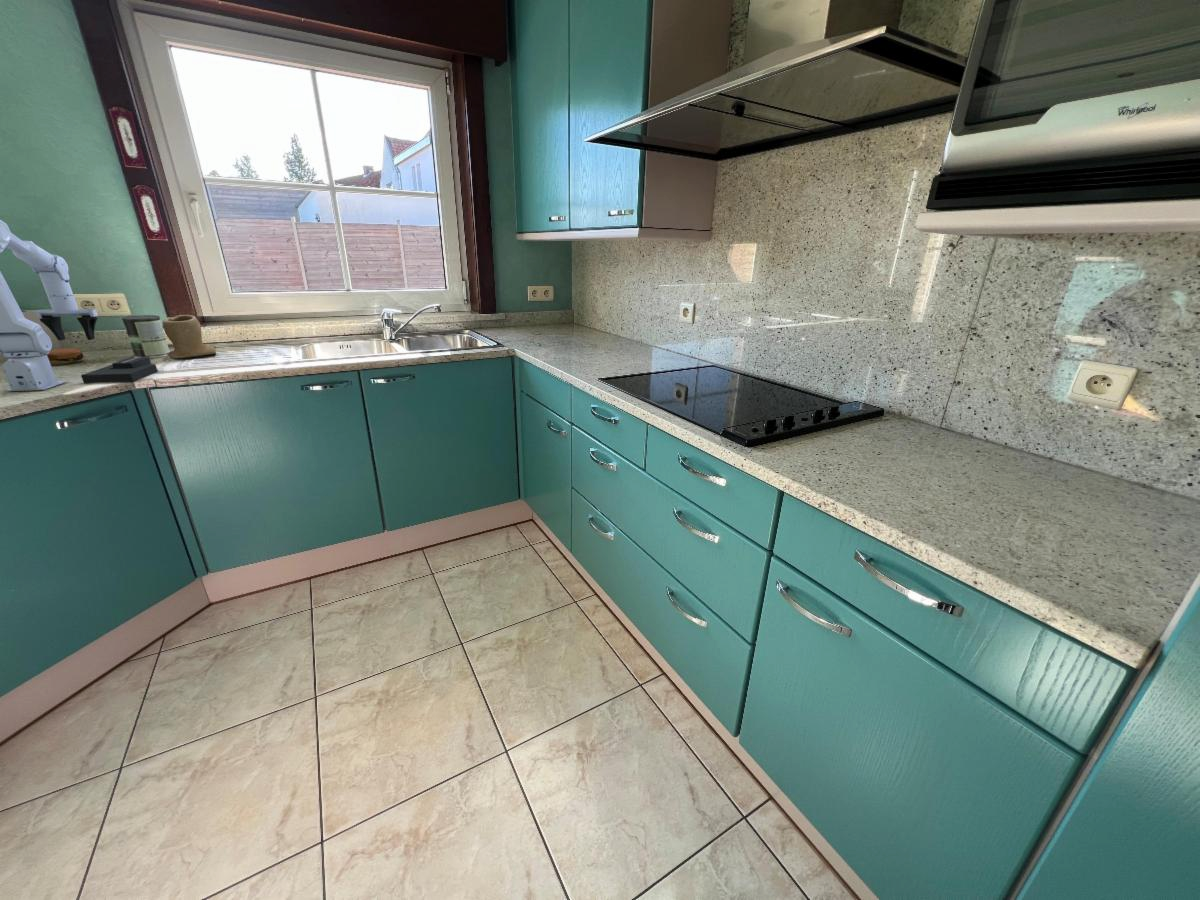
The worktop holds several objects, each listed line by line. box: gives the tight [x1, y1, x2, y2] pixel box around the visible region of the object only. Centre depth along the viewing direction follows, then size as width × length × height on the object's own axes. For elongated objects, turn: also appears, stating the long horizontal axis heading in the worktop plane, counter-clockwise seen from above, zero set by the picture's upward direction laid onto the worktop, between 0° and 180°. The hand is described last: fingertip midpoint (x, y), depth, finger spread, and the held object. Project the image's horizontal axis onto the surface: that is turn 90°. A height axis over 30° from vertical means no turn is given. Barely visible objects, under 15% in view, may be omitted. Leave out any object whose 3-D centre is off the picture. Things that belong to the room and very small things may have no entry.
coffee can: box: [121, 314, 171, 359], centre depth 178 cm, size 10×10×14 cm
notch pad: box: [80, 363, 159, 384], centre depth 151 cm, size 14×12×2 cm
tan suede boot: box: [161, 314, 217, 359], centre depth 179 cm, size 15×12×15 cm
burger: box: [47, 347, 86, 366], centre depth 167 cm, size 10×9×5 cm
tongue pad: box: [111, 356, 152, 369], centre depth 157 cm, size 10×5×4 cm, turn 16°
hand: (76, 339), depth 157 cm, fingers open, 7 cm apart
